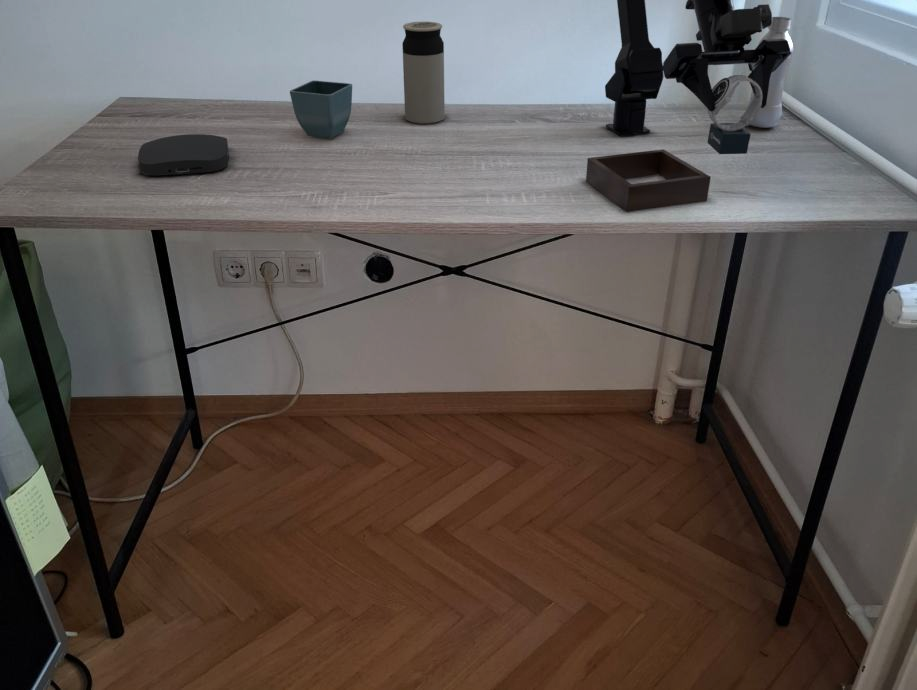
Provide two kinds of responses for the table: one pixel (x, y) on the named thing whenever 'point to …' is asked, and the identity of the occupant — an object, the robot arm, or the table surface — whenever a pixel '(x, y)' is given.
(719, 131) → the watch
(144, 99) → the table surface
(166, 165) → the media streaming box
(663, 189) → the tray
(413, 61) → the travel mug
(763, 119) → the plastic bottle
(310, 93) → the flower pot
